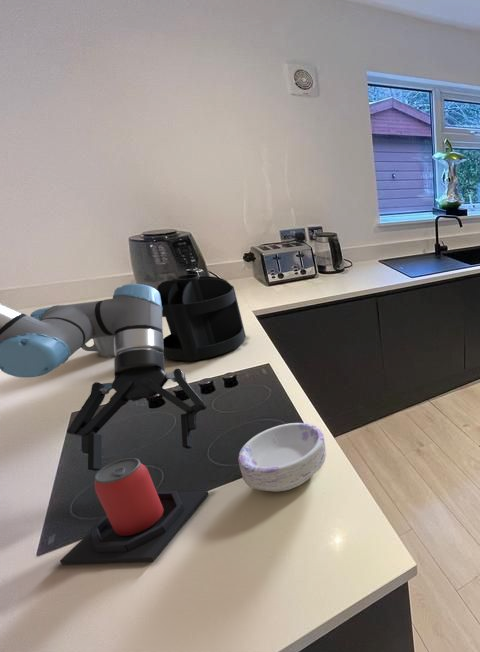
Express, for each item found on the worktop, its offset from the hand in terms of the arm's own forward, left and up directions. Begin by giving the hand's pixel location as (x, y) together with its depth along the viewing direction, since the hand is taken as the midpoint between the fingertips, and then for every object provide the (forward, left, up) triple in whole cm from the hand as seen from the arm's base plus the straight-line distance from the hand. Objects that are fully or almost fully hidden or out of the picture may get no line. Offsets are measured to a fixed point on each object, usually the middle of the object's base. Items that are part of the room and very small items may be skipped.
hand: (142, 458), depth 76 cm
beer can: (+4, -9, -7) cm, 12 cm away
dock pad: (+4, -9, -8) cm, 12 cm away
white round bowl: (+24, +3, -8) cm, 26 cm away
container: (-30, +64, -8) cm, 71 cm away
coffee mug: (-58, +61, -8) cm, 85 cm away
